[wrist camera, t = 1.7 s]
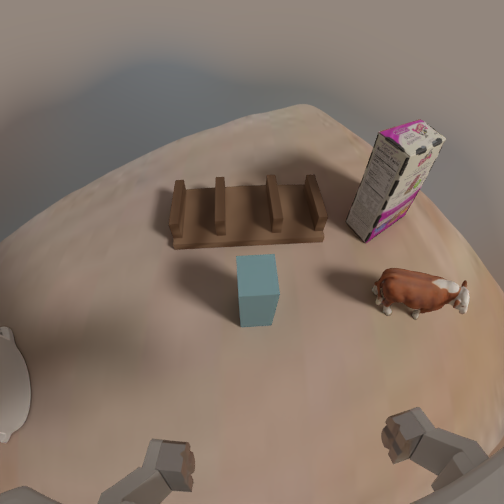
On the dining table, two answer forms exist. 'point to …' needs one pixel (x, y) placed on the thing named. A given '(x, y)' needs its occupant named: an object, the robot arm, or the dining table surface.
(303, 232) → the rack
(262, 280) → the teal rectangular block
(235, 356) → the dining table surface
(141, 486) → the robot arm
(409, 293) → the bull figurine
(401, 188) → the candy bar box
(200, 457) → the dining table surface
